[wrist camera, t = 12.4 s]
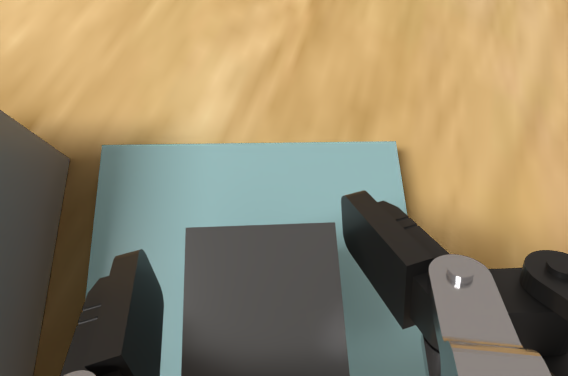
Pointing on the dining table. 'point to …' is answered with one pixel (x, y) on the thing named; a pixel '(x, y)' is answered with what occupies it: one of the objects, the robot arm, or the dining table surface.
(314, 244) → the lid
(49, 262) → the tub
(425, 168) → the dining table surface
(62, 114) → the dining table surface
